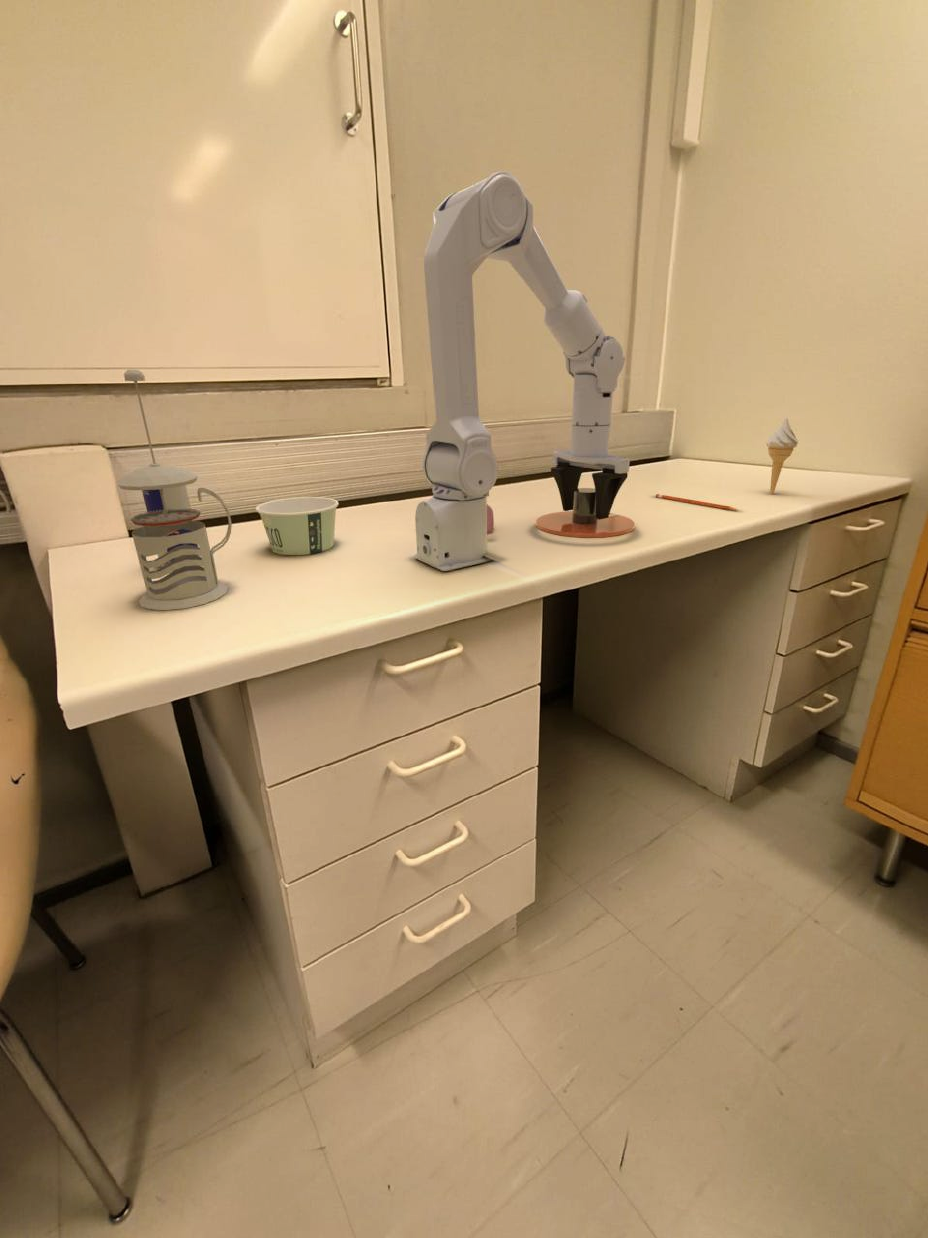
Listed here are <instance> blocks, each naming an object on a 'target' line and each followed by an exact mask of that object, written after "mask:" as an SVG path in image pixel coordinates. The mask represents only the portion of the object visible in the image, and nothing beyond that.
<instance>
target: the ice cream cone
mask: <svg viewBox="0 0 928 1238" xmlns="http://www.w3.org/2000/svg"><path fill="white" fill-rule="evenodd" d="M798 443H799V440H798V439H797V437H796V435H795V433H794V431H793V429H792V427H791V425H790V423H789V419H788V417H785V419H784V421H783V422H782V423H781V424H780V426H779V427H778V428H777V429H776V430H775V431H774V432H773V433H772V434H771V435H770V436H769V437H768V438H767V440H766V447H768V448H767V450H768V455H769V457H770V458H771V460H772V465H771V475H770V476H771V477H770V488H769V493H770V495H773V494H774V493H775V491H776V487H777V484H778V482H779V478H780V475H781V472H782V469H783V467H784V466H783V465H784V462H785V461H786V460H787V459H788V458H789V457H790V456H792V454H793V451H794V448H797V445H798Z"/></svg>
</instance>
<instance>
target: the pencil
mask: <svg viewBox="0 0 928 1238" xmlns="http://www.w3.org/2000/svg"><path fill="white" fill-rule="evenodd" d="M655 498H657V499H663V500H669V501H672V502H673V501H674V502H679V503H680V502H681V503H686V504H692V505H695V506H696V505H697V506H703V507H708V508H713V509H719V510H725V511H739V509H738V508H735V507H733V506H731V505H725V504H724V505H723V504H719V503H713V502H707V501H700V500H695V499H688V498H682V497H677V496H671V495H665V494H659V493H657V494H655Z"/></svg>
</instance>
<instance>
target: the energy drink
mask: <svg viewBox="0 0 928 1238" xmlns="http://www.w3.org/2000/svg"><path fill="white" fill-rule="evenodd" d="M141 493H142V497H143V500H144V504H145V509H146V512H147V513H148V512H151V511H152V512H153V511H155V512H156V510H158V511H159V510H161V511H162V510H163V511H164V507H163V503H162V499H161V494H160V490H159V489H157V490H141ZM162 494H163V498H164V502H165V507H166V509H167V510H169V509H170V510H172V509H173V510H175V509H176V510H178V508H179V509H180V508H181V509H183V508H184V509H185V508H186V509H187V508H189V509H192V508H191V503H190V497H189V494H188V488H187V485H185V486H180V487H174V488H166V489H162ZM158 511H157V512H158ZM152 512H151V513H152ZM147 513H146V514H147ZM191 521H194V520H191ZM189 532H193V531H190V530H185V529H180V530H177V531H174V532H170V533H169V534H168V535H166V536H173V535H180V534H185V533H189ZM166 536H165V537H166ZM185 544H186V545H192V546H196V547H198V548H199V544H194V543H183V544H178V545H175V546H172V547H169V548H168V549H166V550H164V551H162V552H160V553H159V554H157V558H159V557H161V556H163V555H164V554H166V553H167V552H169V551H170V550H172V549H173V548H175V547H177V546H181V545H185ZM182 556H183V555H182ZM195 556H199V557H201V556H200V555H195ZM176 558H177V557H176ZM201 558H202V557H201ZM174 559H175V558H174ZM174 559H171V560H170V561H168V562H166V563H164V564H162V565H160V566H159V567H163V566H165V565H167V564H168V563H169V562H171V561H172V560H174Z"/></svg>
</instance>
